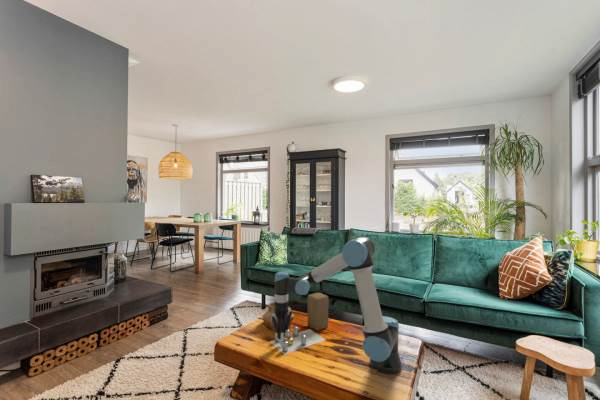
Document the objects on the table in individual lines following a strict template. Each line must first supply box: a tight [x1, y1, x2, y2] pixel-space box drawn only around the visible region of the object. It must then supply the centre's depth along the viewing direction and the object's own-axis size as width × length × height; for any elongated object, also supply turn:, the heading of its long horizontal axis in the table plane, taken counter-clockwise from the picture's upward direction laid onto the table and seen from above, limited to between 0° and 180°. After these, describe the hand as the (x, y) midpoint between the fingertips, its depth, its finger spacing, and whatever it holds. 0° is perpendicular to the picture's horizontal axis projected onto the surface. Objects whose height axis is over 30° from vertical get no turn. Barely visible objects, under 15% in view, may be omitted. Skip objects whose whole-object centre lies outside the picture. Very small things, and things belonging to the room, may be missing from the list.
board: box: [269, 328, 327, 355], centre depth 165 cm, size 16×28×1 cm, turn 125°
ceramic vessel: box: [262, 301, 296, 332], centre depth 183 cm, size 14×26×15 cm, turn 37°
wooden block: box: [307, 292, 329, 331], centre depth 186 cm, size 10×10×20 cm
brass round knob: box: [285, 336, 294, 346], centre depth 162 cm, size 5×5×3 cm
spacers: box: [274, 325, 306, 353], centre depth 163 cm, size 14×17×5 cm
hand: (281, 343), depth 159 cm, fingers closed
